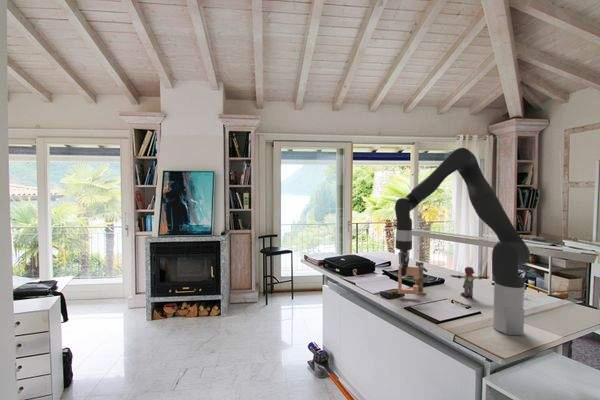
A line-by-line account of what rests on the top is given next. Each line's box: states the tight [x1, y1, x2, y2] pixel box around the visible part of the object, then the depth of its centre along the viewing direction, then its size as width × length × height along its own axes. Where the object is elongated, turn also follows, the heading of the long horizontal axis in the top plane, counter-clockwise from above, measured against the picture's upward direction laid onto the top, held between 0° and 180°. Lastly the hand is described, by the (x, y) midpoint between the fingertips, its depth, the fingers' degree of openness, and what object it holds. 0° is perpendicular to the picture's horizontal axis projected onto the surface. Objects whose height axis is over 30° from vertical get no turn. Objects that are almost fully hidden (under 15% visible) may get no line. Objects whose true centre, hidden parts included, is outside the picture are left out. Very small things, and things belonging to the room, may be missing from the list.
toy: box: [450, 266, 490, 299], centre depth 151 cm, size 18×6×15 cm, turn 84°
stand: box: [411, 260, 428, 296], centre depth 153 cm, size 16×5×16 cm, turn 173°
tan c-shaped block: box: [397, 265, 419, 295], centre depth 149 cm, size 2×9×13 cm, turn 83°
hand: (403, 274), depth 149 cm, fingers closed on tan c-shaped block, 2 cm apart
